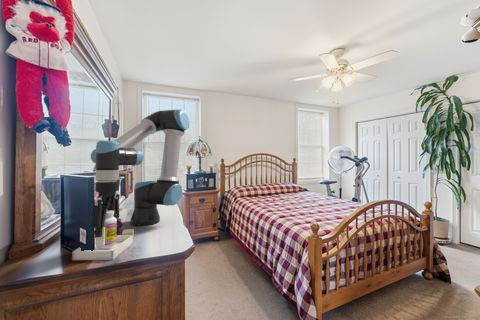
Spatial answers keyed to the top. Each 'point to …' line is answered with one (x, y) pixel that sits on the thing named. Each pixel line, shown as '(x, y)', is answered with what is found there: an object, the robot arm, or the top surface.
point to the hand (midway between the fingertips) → (106, 241)
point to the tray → (104, 250)
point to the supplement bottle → (109, 229)
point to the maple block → (128, 232)
